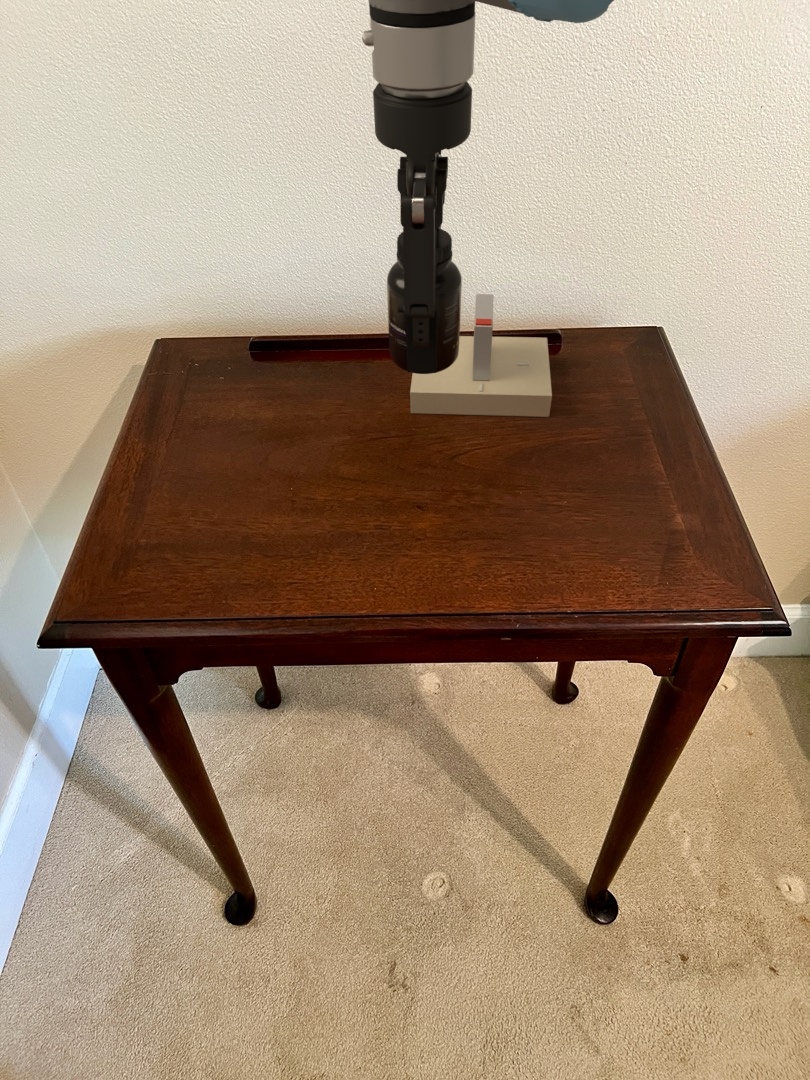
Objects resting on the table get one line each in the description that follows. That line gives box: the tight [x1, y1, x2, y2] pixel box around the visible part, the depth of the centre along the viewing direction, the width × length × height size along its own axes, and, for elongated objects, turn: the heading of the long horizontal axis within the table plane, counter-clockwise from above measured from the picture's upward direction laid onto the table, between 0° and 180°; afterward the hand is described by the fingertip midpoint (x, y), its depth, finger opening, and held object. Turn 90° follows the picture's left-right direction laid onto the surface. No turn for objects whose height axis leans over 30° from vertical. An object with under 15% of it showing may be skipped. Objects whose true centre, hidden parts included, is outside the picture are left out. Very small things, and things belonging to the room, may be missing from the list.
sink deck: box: [409, 335, 553, 418], centre depth 91 cm, size 16×12×3 cm
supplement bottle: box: [386, 228, 463, 374], centre depth 70 cm, size 7×7×12 cm
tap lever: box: [472, 293, 494, 381], centre depth 87 cm, size 7×2×7 cm, turn 175°
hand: (424, 347), depth 74 cm, fingers closed on supplement bottle, 7 cm apart
